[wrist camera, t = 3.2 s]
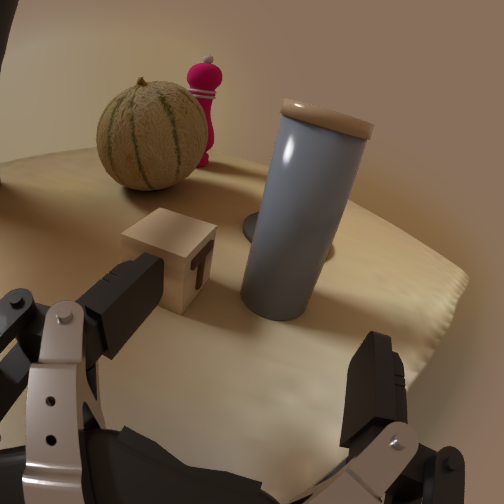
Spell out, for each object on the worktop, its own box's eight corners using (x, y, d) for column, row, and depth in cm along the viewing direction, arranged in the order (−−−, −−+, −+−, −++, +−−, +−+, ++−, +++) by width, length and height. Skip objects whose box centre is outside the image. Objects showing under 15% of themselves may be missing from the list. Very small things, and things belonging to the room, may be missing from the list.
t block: (124, 290, 20) (120, 233, 18) (157, 259, 25) (159, 207, 22) (184, 317, 20) (189, 259, 17) (211, 279, 24) (220, 226, 21)
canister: (228, 306, 22) (274, 95, 14) (250, 267, 26) (291, 99, 19) (302, 331, 21) (380, 127, 13) (311, 287, 26) (369, 122, 18)
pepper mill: (186, 155, 54) (203, 56, 44) (217, 163, 52) (237, 59, 42) (162, 161, 48) (179, 51, 38) (195, 171, 46) (216, 53, 36)
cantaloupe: (215, 184, 43) (234, 86, 35) (164, 221, 30) (181, 78, 23) (136, 164, 45) (146, 77, 37) (73, 192, 32) (77, 77, 25)
